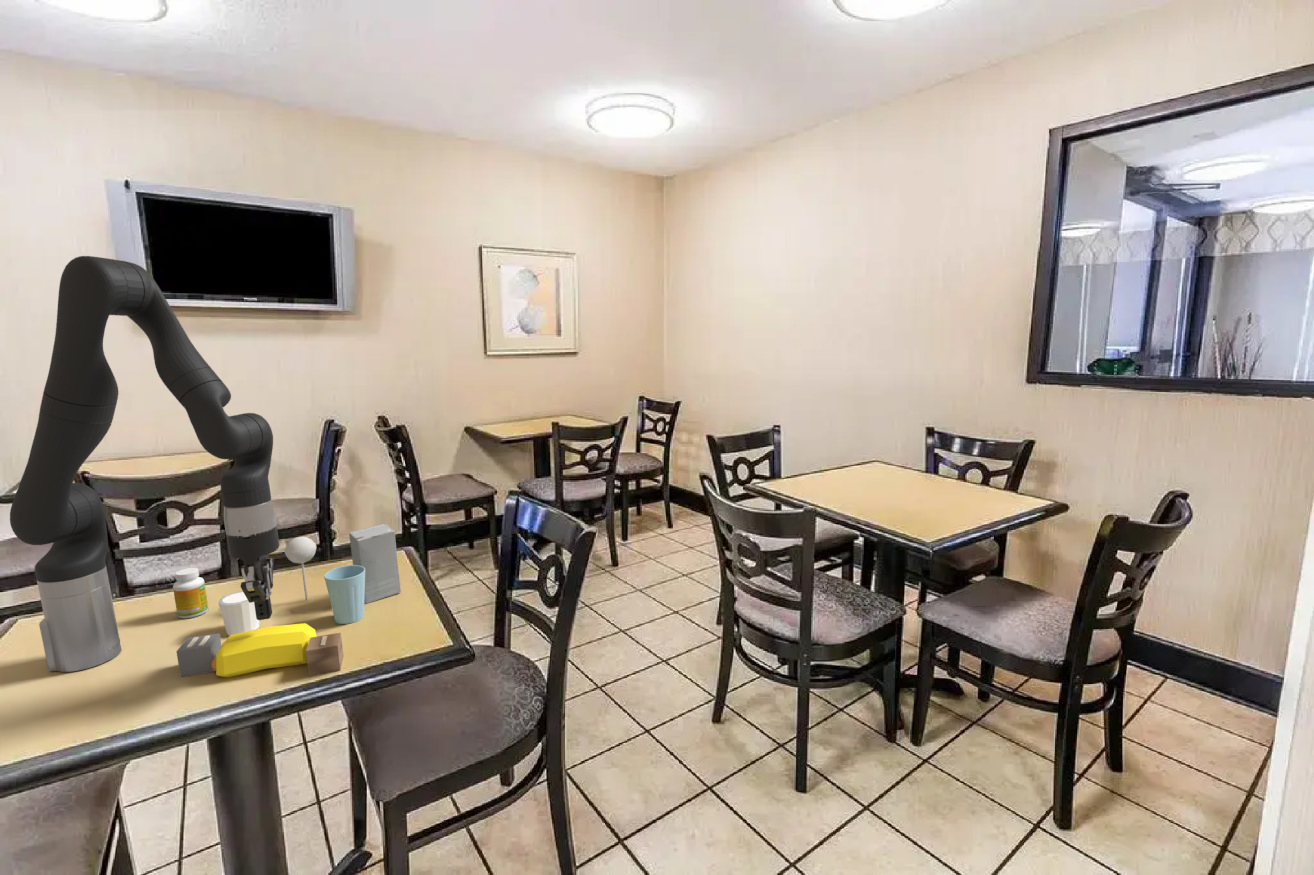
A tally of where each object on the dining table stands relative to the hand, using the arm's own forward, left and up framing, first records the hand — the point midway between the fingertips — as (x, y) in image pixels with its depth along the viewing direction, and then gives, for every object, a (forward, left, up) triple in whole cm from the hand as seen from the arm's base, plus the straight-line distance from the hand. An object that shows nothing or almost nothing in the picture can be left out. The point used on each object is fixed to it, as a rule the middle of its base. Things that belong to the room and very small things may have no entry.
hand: (264, 617), depth 111 cm
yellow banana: (0, 0, -9) cm, 9 cm away
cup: (+12, +14, -9) cm, 20 cm away
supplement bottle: (-20, +29, -9) cm, 37 cm away
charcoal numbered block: (-11, +3, -9) cm, 15 cm away
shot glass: (-8, +17, -9) cm, 21 cm away
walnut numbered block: (+10, -5, -9) cm, 14 cm away
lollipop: (+2, +27, -9) cm, 29 cm away
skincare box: (+17, +24, -9) cm, 31 cm away
